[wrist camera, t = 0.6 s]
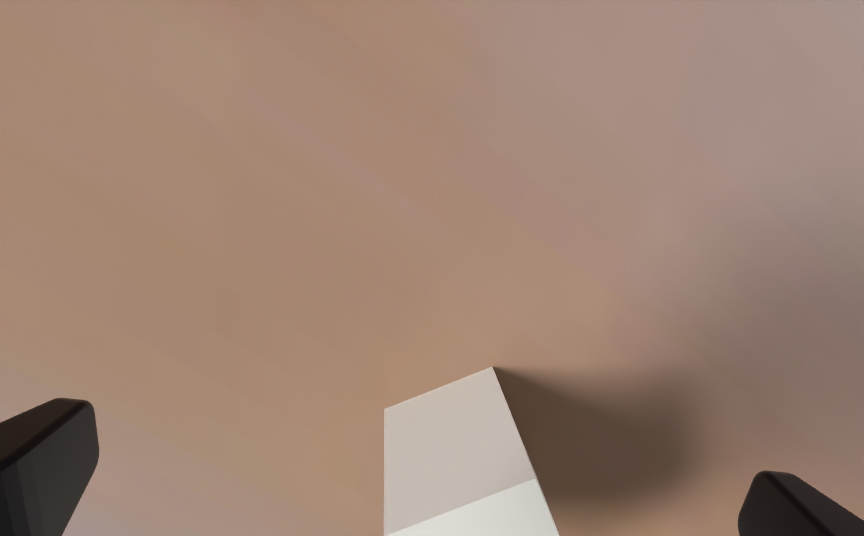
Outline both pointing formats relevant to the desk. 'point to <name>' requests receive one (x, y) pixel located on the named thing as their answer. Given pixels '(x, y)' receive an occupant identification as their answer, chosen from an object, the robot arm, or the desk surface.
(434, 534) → the small block
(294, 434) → the desk surface
